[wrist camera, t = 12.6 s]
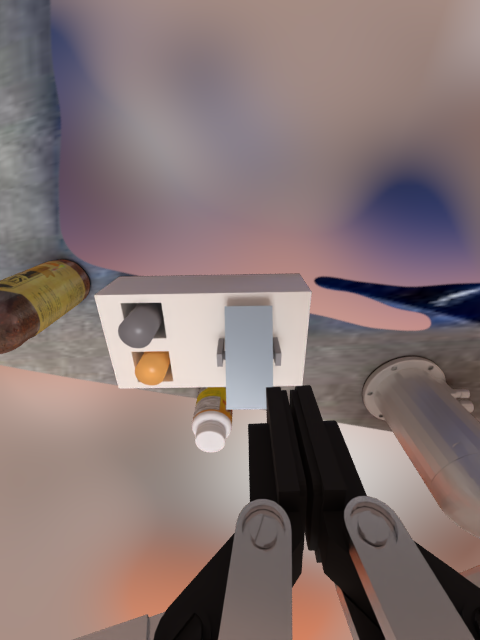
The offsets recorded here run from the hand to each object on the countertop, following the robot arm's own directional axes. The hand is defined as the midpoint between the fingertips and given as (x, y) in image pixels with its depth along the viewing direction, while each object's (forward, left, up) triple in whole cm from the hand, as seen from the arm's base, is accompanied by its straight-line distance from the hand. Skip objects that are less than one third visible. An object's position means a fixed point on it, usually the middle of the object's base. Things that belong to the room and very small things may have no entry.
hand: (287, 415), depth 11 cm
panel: (+6, +9, -28) cm, 30 cm away
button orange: (+13, +12, -27) cm, 32 cm away
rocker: (+1, +9, -18) cm, 20 cm away
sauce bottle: (+25, +3, -28) cm, 38 cm away
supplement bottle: (+6, +22, -28) cm, 36 cm away
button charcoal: (+13, +6, -25) cm, 29 cm away
